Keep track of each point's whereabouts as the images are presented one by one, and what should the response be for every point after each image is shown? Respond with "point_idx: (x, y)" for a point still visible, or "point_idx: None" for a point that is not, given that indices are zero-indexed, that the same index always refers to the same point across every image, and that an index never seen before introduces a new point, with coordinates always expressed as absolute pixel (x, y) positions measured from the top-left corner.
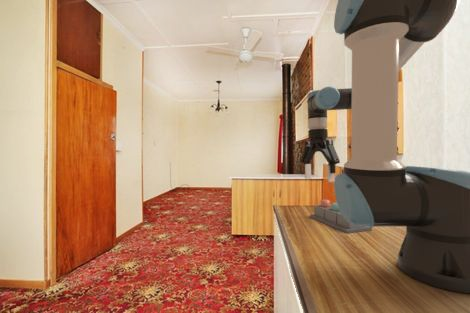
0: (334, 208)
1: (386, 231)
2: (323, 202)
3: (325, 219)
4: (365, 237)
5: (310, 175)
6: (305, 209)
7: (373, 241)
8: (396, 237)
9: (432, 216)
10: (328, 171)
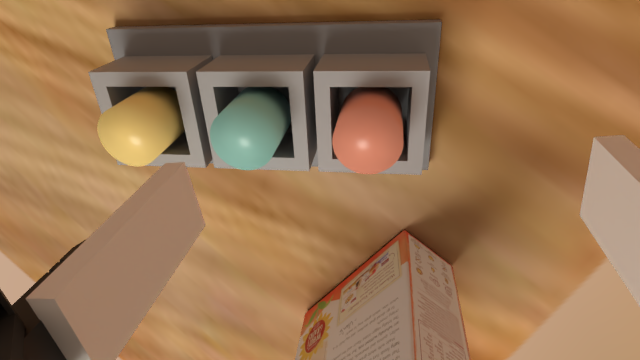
0: (234, 100)
1: (132, 190)
2: (350, 110)
3: (304, 50)
4: (66, 63)
5: (601, 230)
6: (636, 113)
7: (23, 57)
8: (69, 167)
9: None
10: (100, 230)
